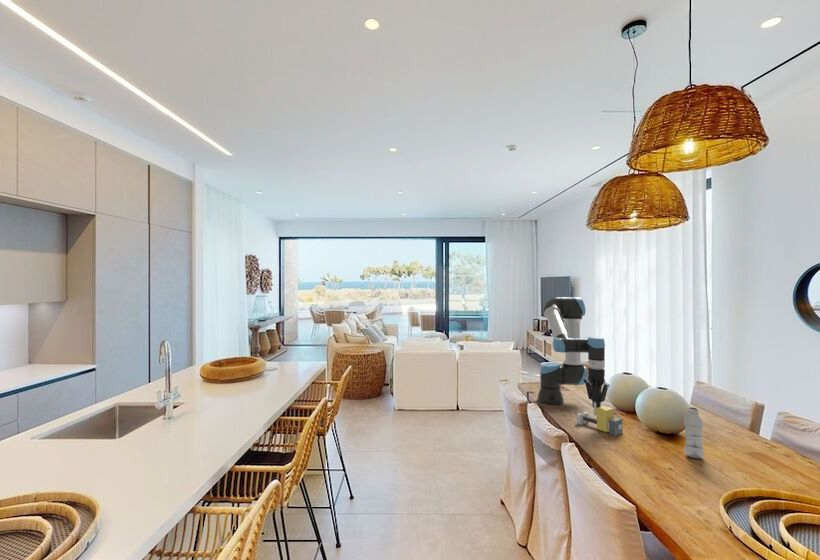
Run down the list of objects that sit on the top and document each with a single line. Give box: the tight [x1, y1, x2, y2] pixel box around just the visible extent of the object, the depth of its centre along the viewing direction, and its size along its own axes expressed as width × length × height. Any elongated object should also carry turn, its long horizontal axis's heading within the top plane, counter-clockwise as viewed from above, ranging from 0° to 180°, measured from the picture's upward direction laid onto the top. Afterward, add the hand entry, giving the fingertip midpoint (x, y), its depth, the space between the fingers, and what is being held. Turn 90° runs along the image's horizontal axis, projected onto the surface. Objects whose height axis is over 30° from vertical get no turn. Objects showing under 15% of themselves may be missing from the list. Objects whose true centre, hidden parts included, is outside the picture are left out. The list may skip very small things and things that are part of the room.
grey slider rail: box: [576, 411, 623, 437], centre depth 190 cm, size 7×21×7 cm, turn 31°
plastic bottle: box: [683, 407, 705, 459], centre depth 158 cm, size 6×7×20 cm
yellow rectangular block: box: [596, 405, 615, 433], centre depth 188 cm, size 6×5×10 cm
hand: (596, 414), depth 192 cm, fingers closed
